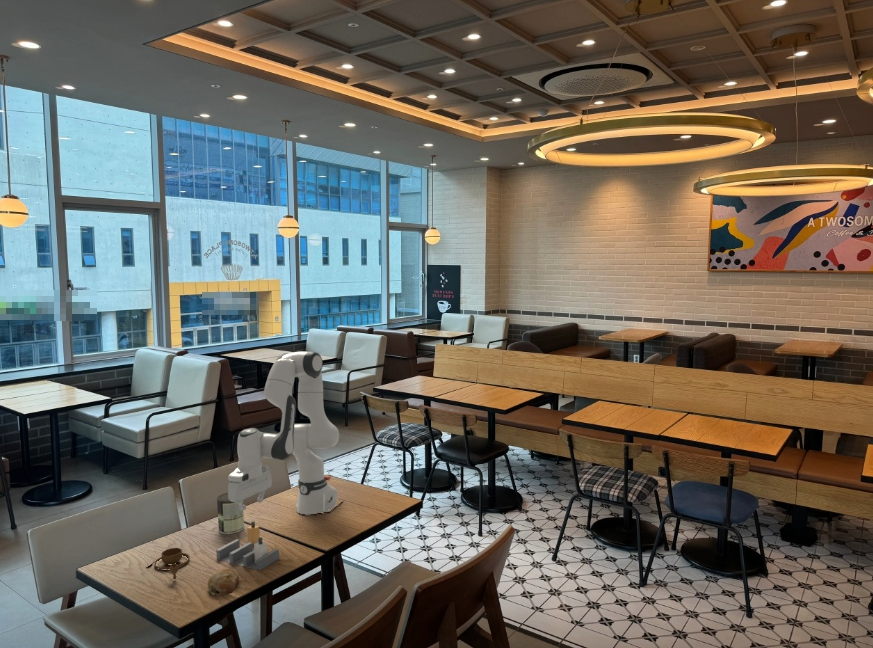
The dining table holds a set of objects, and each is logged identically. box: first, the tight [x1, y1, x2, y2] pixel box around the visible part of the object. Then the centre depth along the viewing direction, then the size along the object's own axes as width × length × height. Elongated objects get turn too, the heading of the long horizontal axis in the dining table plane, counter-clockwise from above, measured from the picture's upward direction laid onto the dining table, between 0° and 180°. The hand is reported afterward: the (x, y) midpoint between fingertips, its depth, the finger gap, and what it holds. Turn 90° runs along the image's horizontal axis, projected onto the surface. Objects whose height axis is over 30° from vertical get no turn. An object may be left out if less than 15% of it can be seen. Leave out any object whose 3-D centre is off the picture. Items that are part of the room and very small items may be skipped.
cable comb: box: [215, 539, 280, 571], centre depth 225 cm, size 10×21×4 cm, turn 63°
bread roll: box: [207, 568, 240, 596], centre depth 205 cm, size 10×10×8 cm
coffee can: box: [216, 492, 245, 535], centre depth 253 cm, size 10×10×14 cm
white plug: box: [253, 536, 269, 563], centre depth 221 cm, size 3×4×9 cm
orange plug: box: [246, 520, 261, 545], centre depth 239 cm, size 3×4×9 cm
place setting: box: [153, 547, 190, 580], centre depth 220 cm, size 18×20×6 cm
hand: (251, 505), depth 238 cm, fingers open, 8 cm apart
